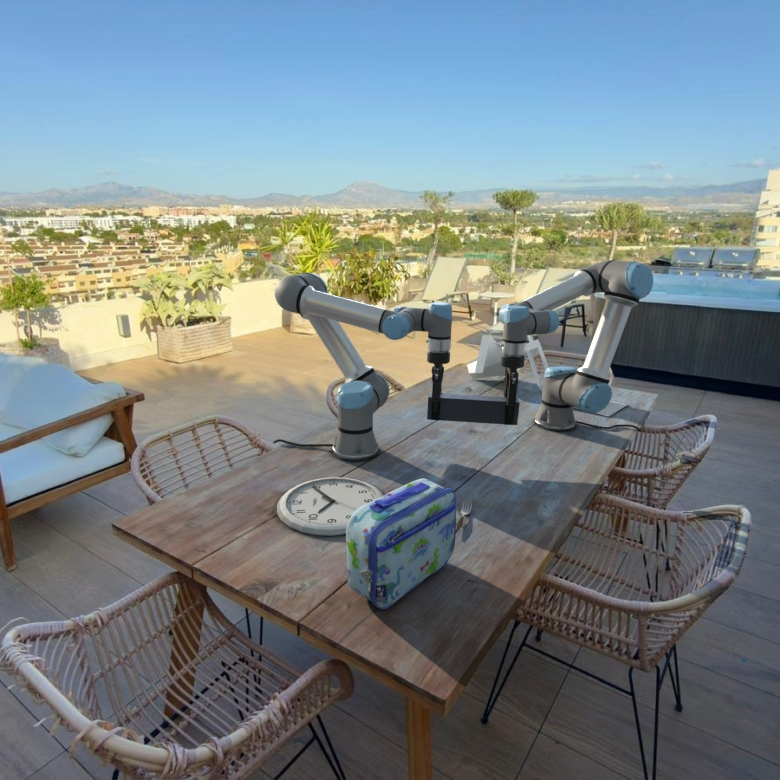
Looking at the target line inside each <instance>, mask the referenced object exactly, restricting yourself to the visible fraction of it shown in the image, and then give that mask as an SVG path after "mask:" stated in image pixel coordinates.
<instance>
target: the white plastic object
mask: <svg viewBox="0 0 780 780" xmlns="http://www.w3.org/2000/svg"><path fill="white" fill-rule="evenodd" d="M527 339H528V342H526V352H525V354H524V356H525V361H527V359H528V361H529V365H530V368H531V371H532V374H533V378H534V381H535V384H536V386H537V388H538V389H539V391H541V392H542V390H543V383H542V381H541V379H540V375H539V372H538V369H537V366H536V364H535V363H536V362H535V360H534V357H533V356H535V355H538V354H539V357H540V359H541V363H542V364H543V368H544V371H545V370H546V369H547V368H549V363H548V361H547V358H546V355H545V352H544V349H543V346H542V344H541V342H540V339H535V340H534V339H533V335H527ZM480 340H481V341H480V345H479V349H478V356H477V358H476V360H475V361H472V362H470V363H468V364H467V369H468V374H469V376H470V377H471V379H473V380H476V379H485V378H494V377H499V378H503V377H505V369H506V367H503V366H502V365H501V355H502V354H503V353H502V347H501V346H500V344H503V341H498V342H497V341H496V340H495V338H494V337H493V336H492V334H482V336H481V339H480Z"/></svg>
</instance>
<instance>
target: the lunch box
mask: <svg viewBox="0 0 780 780" xmlns="http://www.w3.org/2000/svg"><path fill="white" fill-rule="evenodd" d="M456 498H457V496H456V493H455V491H454V489H452V488H450V487H443V486H441V485H439V484H438V483H436V482H433V481H432V480H430V479H427V478H423V477H422V478H418V479H416V480H413V481H411V482H409V483H406V484H405V485H402V486H400V487H398V488H396V489H394V490H392V491H390V492H388V493H386V494H384V496H382V497H380V498H378V499H376V500H374V501H372V502H370V503H368V504H366V505H364V506H362V507H360V508H358V509H357V510H356V511H355V512H354V513H353V514H352V515H351V517H350V519H349V521H348V524H347V528H346V534H345V547H346V549H345V550H346V572H347V573H346V575H347V584H348V587H349V589H350V590H351V591H353V592H355V593H357V594H358V595H361V596H363V597H364V598H365V599H367V600H368V601H369V602H371V604H372V605H373V606H374V607H376V608H377V609H380V610H386V609H389V608H391V607H393V605H395V603H397V602H398V601H399V600H400V599H402V598H403V597H404V596H405V595H408V593H410V592H411V591H412V590H413V589H415V588H416V587H417V586H419V585H420V584H421V583H423V581H424V580H425V579H427V578H428V577H430V576H431V575H433V574H435V573H437V572H438V571H439V570H441V569H442V568H443V567H444V566H446V564H447V563H448V562H449V560H450V559H451V556H452V555H453V552H454V548H455V544H456V535H455V533H456V528H457V499H456ZM456 534H457V533H456Z"/></svg>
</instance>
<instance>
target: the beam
mask: <svg viewBox="0 0 780 780" xmlns="http://www.w3.org/2000/svg"><path fill="white" fill-rule="evenodd" d="M442 393H443V392H441V393H440V416H439V420H438V421H443V422H444V421H446V422H459V423H460V422H462V423H473V424H474V423H475V424H489V425H490V424H492V425H504V422H505V410H506V407H504V405H506V404H507V397H504V396H493V395H476V394H475V395H473V394H457V393H443V394H442ZM430 400H432V392H428V396H427V414H426V420H430V421H432V420H431V411H432V402H430ZM519 413H520V400H519V398H518V397H516V407H514V417H513V425H512V426H518V423H519Z"/></svg>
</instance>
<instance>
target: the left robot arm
mask: <svg viewBox="0 0 780 780" xmlns="http://www.w3.org/2000/svg"><path fill="white" fill-rule="evenodd" d="M328 292H329V291H328V286H327V284H326V281H325V280H324V279H323V278H322V277H321V276H320V275H318V274H316V273H312V272H301V273H297V274H292V275H287V276H284V277H283V278H282V277H281V279H280V280H279V281H278V282H277V283H276V285H275V287H274V298H275V301H276V303H277V305H278V306H279V307H280V308H281V309H283V310H285V311H287V312H290V313H292V314H293V313H294V314H297V315H300V317H301V319H302V320H307V321H309V323H310V325H311V326H312V328H313V329H314V331H315V333H316V335H318V337H319V339H320V340H321V343H323V345H324V347H325V348H326V350H327V351H328V353H329V355H330V356H331V358H332V359H333V361H334V363H335V364H336V365H337V367H338V369H339V371H340V372H341V374H342V375H343V377H344V379H345V380H344V383H343V384H341V385H340V386H339V387H338V389H337V395H336V403H337V406H336V407H337V433H336V435H335V438H334V441H333V443H313V444H312V443H310V444H309V443H308V444H307V443H306V444H305V443H304V444H303V443H296V442H293V441H288V440H285V439H281V438H278V439H275V440H274V441H273V442H272V444H276V443H279V442H281V443H284V444H288V445H292V446H295V447H301V448H311V447H312V448H315V447H317V448H319V447H332V454H333V456H335V458H338V459H340V460H343V461H349V462H361V461H366V460H370V459H372V458H374V457H376V456H377V455H378V453H379V444H378V441H377V440H376V436H375V434H374V413H376V412H377V411H378V410H379V409H380V408H382V407H383V406H384V405H385V404H386V402H387V400H388V398H389V396H390V391H391V390H390V385H389V382H388V380H387V379H386V378H385V377H384V376H383V375H381V374H379V373H377V372H376V370H375V369H374V368H373V366H369V365H367V364H366V363H365V361H364V359H363V358H362V356H361V355H360V353H359V352H358V350H357V348H356V346H355V345H354V344H353V342H352V341H351V339H350V337H349V336H348V334H347V333H346V331H345V329H344V328H343V326H342V325H341V323H342V324H346V325H349V326H354V327H357V328H361V329H365V330H368V331H372V332H375V333H380V334H383V335H384V336H385V337H386V338H387V339H389V340H391V341H398V340H402V339H404V338H406V337H407V336H408V335H409V334H411V333H412V332H423V333H426V332H427V339H426V340H425V343H426V344H427V349H428V350H427V351H426V352H427V353H426V362H427V363H429V364H433V365H432V368H431V381H432V387H431V388H432V391H431V393H432V400H430V402H432V411H431V420H430V421H440V420H439V416H440V393H442V394H444V392H442V391H443V389H442V388H443V387H442V386H443V385H442V384H443V379H444V372H445V366H444V365H447V364H449V363H450V362H451V351H450V350H451V349H452V348H451V347H452V327H453V306H452V304H451V303H449V302H441V301H439V302H430V303H429V305H428V307H427V308H421V307H408V306H396V307H393V308H394V309H393V310H391V309H387V308H382V307H379V306H376V305H371V304H368V303H364V302H361V301H356V300H352V299H348V298H345V297H341V296H338V295H337V296H336V295H334V294H330V293H328Z"/></svg>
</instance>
